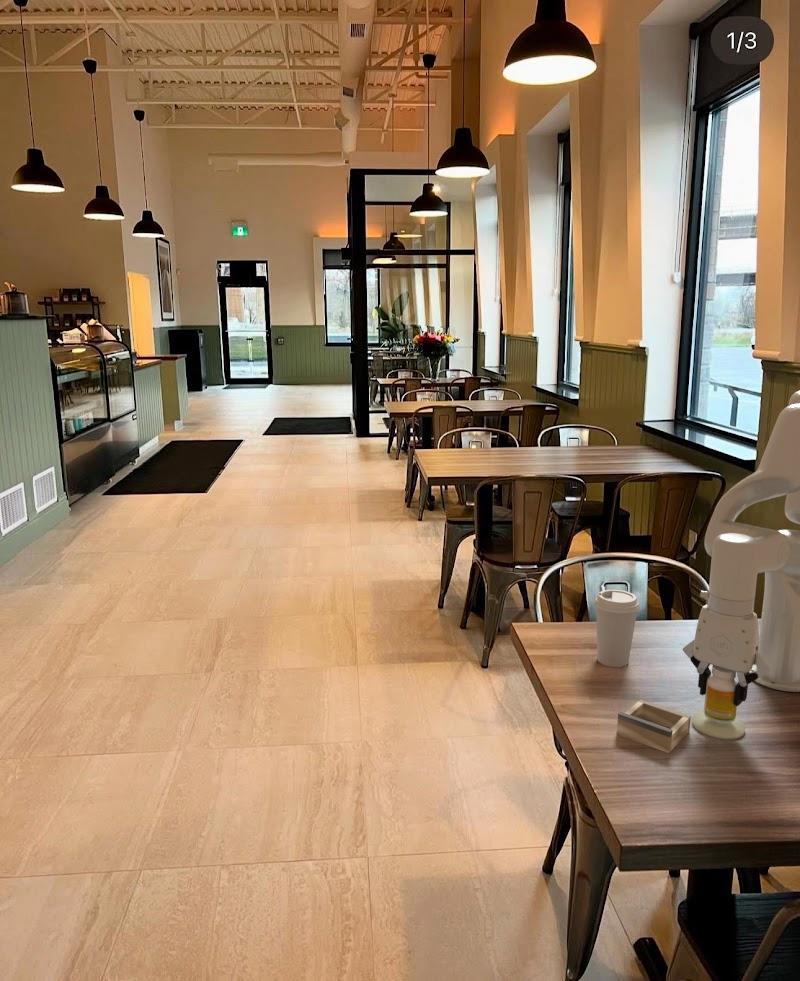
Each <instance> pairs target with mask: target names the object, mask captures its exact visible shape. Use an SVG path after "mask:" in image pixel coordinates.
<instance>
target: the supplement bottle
mask: <svg viewBox="0 0 800 981" xmlns="http://www.w3.org/2000/svg"><path fill="white" fill-rule="evenodd" d="M736 677H737V672H736V671H732V670H729V669H725V668H722V667H718V666H715V665H712V668H711V675H710V676H709V677H708V679H707V684H706V694H705V697H704V707H703V710H704V715H705V716H706V717H707V718H708V719H710V720H712V721H714V722H717V723H732V722H733V721H734V720H735V718H736V717H737V709H738V708H737V707H738V706H735V704H734V697H735V687H736V685H737V684H738V681H739V680H738V679H736Z"/></svg>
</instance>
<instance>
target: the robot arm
mask: <svg viewBox="0 0 800 981" xmlns="http://www.w3.org/2000/svg"><path fill="white" fill-rule="evenodd" d="M782 496H786V498H785V502H784V514H785V517H786V518H787V519H788V520H789V521H790V522H792V523H795V524H799V525H800V390H798V391H795V392H794V393H793V394H792V395H791V396H790V398H789V400H788V405H787V406H786V407H784V408H783V409H782V410H781V411H780V413H779V415H778V416H777V419H776V421H775V424H774V427H773V429H772V432H771V434H770V436H769V440H768V442H767V445H766V447H765V449H764V451H763V454H762V457H761V459H760V463H759V465H758V467H757V469H756V471H755V472H753V473H752V474H750V475H747V476H746V477H745V478H743V479H742V480H740V481H739V482H737V483H736V484H735V485H733V486H732V487H731V488H730V489H729V490H728V491H727V492H725V493H724V494H723V495H722V496H721V498H720V499H719V501H718V502H717V504H716V505H715V508H714V511H713V513H712V515H711V517H710V520H709V522H708V525H707V529H706V532H705V536H704V544H703V545H704V549H705V552H706V554H707V555H708V556H710V557H711V563H710V571H709V572H710V574H709V585H708V586H709V587H708V590H701V591H700V594H699V597H700V599H704V600H705V601H706V604H705V605H702V608H701V610H700V613H699V616H698V621H697V625H696V629H695V630H696V631H695V633H694V639H693V640H691V641H690V642H689V643H687V644H686V645H685V646H683V648H682V651H683V652H684V654H685V655H686V656H687V657H688V658H689V659H690V662H691V663H692V665H693V666H694V667H695V668H696V672H697V674H698V682H697V688H699V695H701V696H704V695H706V684H707V679H708V677H709V676H710V675H712V669H710V666H711V665H712V666H713V665H715V666H718V667H722V668H725V669H729V670H732V671H736V677H737V681H738V684H737V685H736V687H735V697H734V704H735V706H737V707H739V706H740V705H741V704H742V703H743V702H745V701H747V698H748V690H749V688H748V687H749V685H750V684H751V683H752V682H754V681H755V683H757V684H759V685H762V686H764V687H766V688H769V689H773V690H777V691H783V692H788V693H789V692H792V693H799V692H800V530H796V529H777V530H776V529H771V528H765V527H760V526H757V525H751V524H747V523H741V522H736V519H737V517H738V516H739V515H740V514H741V513H742V512H743V511H744V510H745V509H746V508H748V507H750V506H752V505H754V504H756V503H759V502H763V501H767V500H770V499H774V498H778V497H782ZM763 573H764V590H763V591H764V592H763V601H762V610H761V618H760V631H759V621H758V615H757V613H756V612H754V611H755V610H754V609H755V603H756V602H755V600H756V599H755V598H756V592H757V591H756V590H757V582H758V581H757V580H758V574H763Z"/></svg>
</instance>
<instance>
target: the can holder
mask: <svg viewBox="0 0 800 981" xmlns="http://www.w3.org/2000/svg"><path fill="white" fill-rule="evenodd" d="M691 722H692V716H691V715H687V714H685V713H681V712H680V711H676V710H673V709H670V708H668V707H664V706H661V705H658V704H655V703H652V702H650V701H645V700H643V699H639V700H638V701H637V702H635V704H633V705H632V706H631V707H630V708H629V709H627V710H626V712H624V711H623V712H622V711H620V712H619V713H617V727H616V735H619V736H620V737H624V738H626V739H629V740H631V741H634V742H637V743H640V744H643V745H645V746H648V747H650V748H653V749H656V750H659V751H662V752H663V753H667V754H670V753H671V751H673V749H674V748H675V747H676V746H677V745H678V744H679V743H680V742H681V741H682V740H683V739H684V738H685V737H686V736H687V735H688V734H689V733H690V729H691Z"/></svg>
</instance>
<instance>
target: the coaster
mask: <svg viewBox="0 0 800 981" xmlns="http://www.w3.org/2000/svg"><path fill="white" fill-rule="evenodd" d="M691 724H692V726H693V728H694V729H695V730H696V731H699V733H701V734H703V735H706V736H708V737H711V738H714V739H720V740H735V739H736V740H737V739H739V738H741V737H743V736H744V735H745V733H746V725H745V723H744V722H743V721H742V720H741V719H740V718H739V717H737V716H736V718H735V720H734V721H733V722H732V723H717V722H714V721H712V720H710V719H708V718H707V717H706V716H705V715H704V709H703V710H700V711H696V712H695V713H693V715H692V716H691Z"/></svg>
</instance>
